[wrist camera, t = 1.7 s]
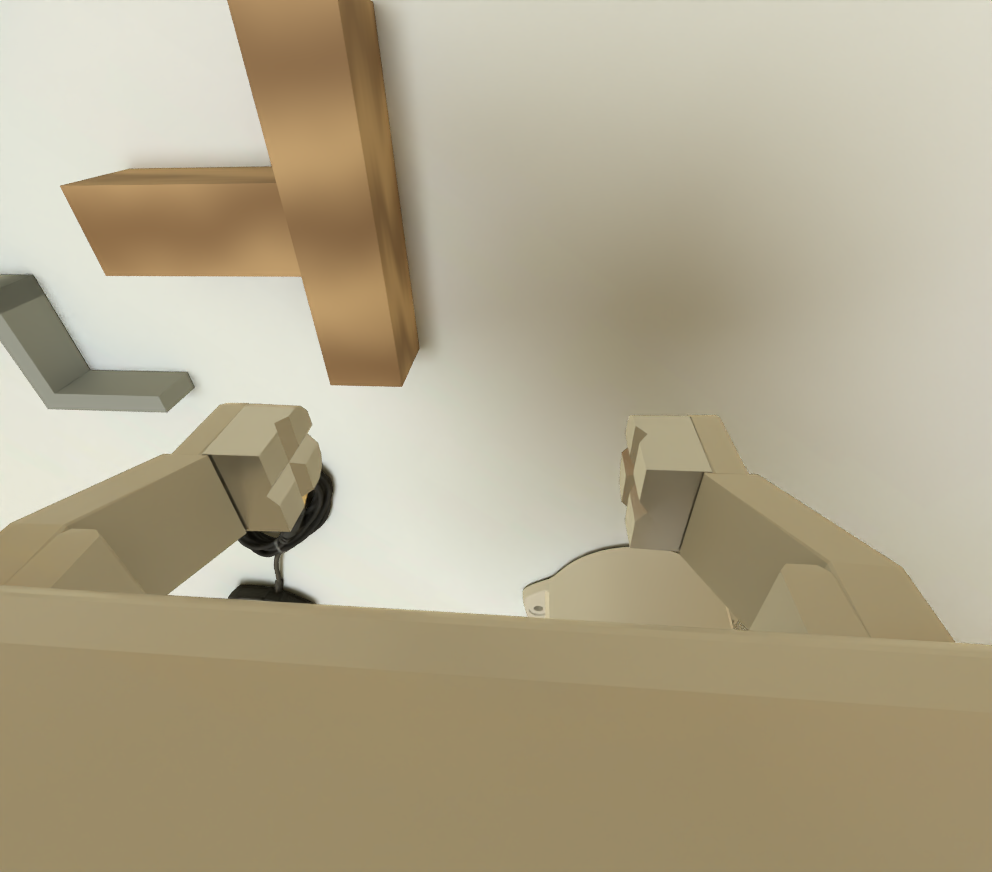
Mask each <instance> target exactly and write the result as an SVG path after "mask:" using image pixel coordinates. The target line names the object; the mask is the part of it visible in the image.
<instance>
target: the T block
mask: <svg viewBox="0 0 992 872" xmlns="http://www.w3.org/2000/svg"><path fill="white" fill-rule="evenodd" d="M227 1H228V5H229V9H230V12H231V16H232V20H233V24H234V27H235V31H236V35H237V39H238V42H239V46H240V50H241V53H242V57H243V61H244V65H245V68H246V72H247V76H248V79H249V83H250V87H251V91H252V94H253V98H254V102H255V105H256V109H257V113H258V117H259V120H260V124H261V128H262V132H263V135H264V139H265V143H266V146H267V150H268V154H269V158H270V161H271V165H272V166H271V167H207V168H144V169H126V170H122V171H118V172H114V173H110V174H106V175H102V176H98V177H94V178H90V179H86V180H82V181H77V182H73V183H69V184H65V185H61V186H60V187H61V189H62V191H63V193H64V195H65V197H66V199H67V201H68V203H69V205H70V207H71V209H72V210H73V212H74V214H75V216H76V218H77V220H78V222H79V224H80V226H81V228H82V230H83V232H84V234H85V236H86V238H87V240H88V242H89V244H90V246H91V248H92V249H93V251H94V253H95V255H96V257H97V259H98V261H99V263H100V265H101V267H102V269H103V271H104V273H105V275H106V276H294V277H302V280H303V284H304V288H305V291H306V295H307V299H308V303H309V306H310V310H311V314H312V317H313V321H314V325H315V329H316V332H317V336H318V340H319V344H320V347H321V351H322V355H323V358H324V362H325V366H326V370H327V373H328V377H329V381H330V384H331V385H348V386H392V387H402V386H403V383H404V381H405V379H406V377H407V375H408V372H409V370H410V368H411V366H412V364H413V361H414V359H415V357H416V355H417V353H418V350H419V342H418V335H417V327H416V320H415V312H414V305H413V297H412V290H411V282H410V275H409V267H408V260H407V252H406V245H405V237H404V230H403V223H402V215H401V208H400V200H399V193H398V185H397V178H396V170H395V163H394V155H393V148H392V140H391V133H390V125H389V118H388V110H387V103H386V95H385V88H384V80H383V73H382V65H381V58H380V50H379V43H378V35H377V28H376V20H375V13H374V5H373V1H370V0H227Z"/></svg>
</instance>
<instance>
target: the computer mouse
mask: <svg viewBox="0 0 992 872" xmlns="http://www.w3.org/2000/svg"><path fill="white" fill-rule="evenodd" d="M313 490H315V494H314V497H313V500H312V502H311V504H310V506H309V507H308V508H307V509H306V499H307V495H308V493H307V494H306V495H304V496H303V497H302V499H303V502H304V505H305V506H304V508H303V510H302V512H301V514H300V515H299V517H298V519H297V521H296V523H295V524H294V526H293V528H292V530H291V532H281V534H280V536H279V537H278V538H274V537H271V536H268V535H266V534H264V533H262V532H261V531H246V534H245V535H243V536H242V537H241V538H240V539H238V541H239V542H240V543H241V544H242V545H243V546H245V547H247V548H249V549H251V550H252V551H253V552H255V553H256V554H258V555H260V556H263V557H272V556H275V558H274V569H275V574H276V579H277V580H276V581H275V587H274V588H273V587H269V586H258V585H240V586H238V587H237V588H236V589H235V590H234V591H233V592H232V593H231V594H230V596H229V597H228V599H240V600H257V601H274V602H290V603H307V604H314V603H312V602H310V601H308V600H306V599H304V598H301V597H299V596H297V595H295V594H293V593H290V592H288V591H283V590H282V583H283V580H282V579H281V576H280V572H279V563H278V562H279V557H280V555H281V554H282V553H285V552H287V551H288V550H290V549H291V548H293V547H295V546H296V545H297V544H299V543H301V542H302V541H303V540H305V539H306V538H307V537H308V536H309V535H311V534H312V533H313V532H315V531H316V530H317V529H319V528H320V527H321V526H322V525H323V524H324V523H325V521H326V519H327V518H328V515H329V512H330V504H331V501H330V500H331V497H332V492H333V487H332V482H331V480H330V479H329V477H328V476H327V475H326V474H325V473H324V472H322V471H321V473H320V478H319V480H318V482H317V484H316V486H315V488H314V489H313Z"/></svg>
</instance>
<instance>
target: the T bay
mask: <svg viewBox="0 0 992 872" xmlns="http://www.w3.org/2000/svg"><path fill="white" fill-rule="evenodd" d="M0 341H1V343H2V344H3V345H4V347H5V348H6V350H7V351H8V353H9V354H10V355H11V357H12V358H13V360H14V361H15V363H16V364H17V365H18V367H19V368H20V370H21V371H22V373H23V374H24V375H25V377H26V378H27V380H28V381H29V383H30V384H31V385H32V387H33V388H34V390H35V391H36V393H37V394H38V395H39V397H40V398H41V400H42V401H43V403H44V404H45V405H46V407H47V408H48V409H64V410H99V411H133V412H168V411H169V410H170V409H171V408H172V407H174V406H175V405H176V404H177V403H178V402H179V401H180V400H181V399H182V398H184V397H185V396H186V395H187V394H188V393H189V392H190V391H191V390H192V389H193V388H194V386H193V384H192V381H191V379H190V377H189V375H188V373H187V372H153V371H106V370H90V369H89V368H88V366H87V364H86V363H85V361H84V359H83V358H82V356H81V354H80V353H79V351H78V349H77V348H76V346H75V344H74V343H73V341H72V339H71V338H70V336H69V334H68V333H67V331H66V329H65V328H64V326H63V324H62V323H61V321H60V319H59V318H58V316H57V314H56V313H55V311H54V309H53V308H52V306H51V304H50V303H49V301H48V299H47V298H46V296H45V295H44V293H43V291H42V290H41V288H40V286H39V285H38V283H37V281H36V280H35V278H34V276H33V275H0Z"/></svg>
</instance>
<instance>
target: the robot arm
mask: <svg viewBox="0 0 992 872" xmlns="http://www.w3.org/2000/svg"><path fill="white" fill-rule="evenodd" d="M311 426H312V422H311V419H310V417H309V414H308V411H307V410H306V409H305V408H303V407H302V406H293V405H272V404H249V403H225V404H221V405H219V406H218V407H217V408H216V409H215V410H214V411H213V412H212V413H211V414H210V415H209V416H208V417H207V418H206V419H205V420H204V421H203V422H202V423H201V424H200V425H199V426H198V427H197V428H196V430H195V431H194V432H193V433H192V434H191V435H190V436H189V437H188V438H187V439H186V440H185V441H184V442H183V443H182V444H181V445H180V446H179V447H178V448H177V449H176V450H175V451H174V452H173V453H172V454H162V455H160V456H157V457H155V458H153V459H151V460H149V461H146V462H144V463H142V464H140V465H138V466H135V467H133V468H131V469H129V470H127V471H124V472H122V473H120V474H118V475H116V476H113V477H111V478H109V479H107V480H104V481H102V482H100V483H98V484H96V485H93V486H91V487H89V488H87V489H85V490H82V491H80V492H78V493H76V494H74V495H71V496H69V497H67V498H65V499H63V500H60V501H58V502H56V503H54V504H52V505H49V506H47V507H45V508H43V509H41V510H38V511H36V512H34V513H32V514H30V515H27V516H25V517H23V518H21V519H19V520H16V521H14V522H12V523H10V524H9V525H8V526H7V527H5V528H4V529H3V530H2V531H1V532H0V872H992V645H985V644H969V643H955V641H954V640H953V638H952V637H951V635H950V634H949V633H948V631H947V630H946V628H945V627H944V626H943V624H942V623H941V621H940V620H939V618H938V617H937V616H936V614H935V613H934V611H933V610H932V609H931V607H930V606H929V604H928V603H927V601H926V600H925V599H924V597H923V596H922V594H921V593H920V592H919V590H918V589H917V587H916V586H915V584H914V583H913V582H912V580H911V579H910V577H909V576H908V575H907V573H906V572H905V570H904V569H903V568H902V567H901V566H899V565H898V564H896V563H895V562H893V561H892V560H890V559H888V558H887V557H885V556H884V555H882V554H881V553H879V552H878V551H876V550H874V549H873V548H871V547H870V546H868V545H867V544H865V543H864V542H862V541H860V540H859V539H857V538H856V537H854V536H853V535H851V534H850V533H848V532H846V531H845V530H843V529H842V528H840V527H839V526H837V525H836V524H834V523H832V522H831V521H829V520H828V519H826V518H825V517H823V516H822V515H820V514H818V513H817V512H815V511H814V510H812V509H811V508H809V507H808V506H806V505H804V504H803V503H801V502H800V501H798V500H797V499H795V498H794V497H792V496H790V495H789V494H787V493H786V492H784V491H783V490H781V489H780V488H778V487H776V486H775V485H773V484H772V483H770V482H769V481H767V480H766V479H764V478H762V477H761V476H759V475H758V474H748V472H747V470H746V468H745V466H744V464H743V462H742V460H741V458H740V456H739V454H738V452H737V450H736V448H735V446H734V444H733V442H732V440H731V438H730V436H729V434H728V432H727V430H726V428H725V426H724V424H723V422H722V420H721V418H720V417H718V416H717V415H687V416H682V415H629V418H628V421H627V426H626V431H625V435H626V441H627V446H628V448H626V449H625V450H624V451H623V452H622V455H621V463H620V476H619V484H620V494H621V501H622V502H623V503H624V504H625V505H626V506H627V510H626V515H625V524H626V530H627V535H628V541H629V546H630V547H621V548H613V549H607V550H603V551H599V552H595V553H592V554H589V555H586V556H584V557H582V558H579V559H577V560H576V561H574V562H572V563H570V564H569V565H567V566H566V567H565V568H563V569H562V570H561V571H560V572H558V573H557V574H556V575H554V576H553V577H551V578H550V579H547V580H544V581H541V582H538V583H535V584H532V585H530V586H528V587H526V588H525V589H524V590H523V603H524V607H525V610H526V613H527V616H528V617H522V616H506V615H489V614H473V613H456V612H440V611H423V610H406V609H390V608H373V607H357V606H340V605H323V604H307V603H290V602H274V601H257V600H240V599H224V598H207V597H191V596H174V595H168V594H169V593H170V592H171V591H173V590H174V589H175V588H177V587H178V586H179V585H180V584H182V583H183V582H184V581H186V580H187V579H188V578H189V577H191V576H192V575H193V574H195V573H196V572H197V571H198V570H200V569H201V568H202V567H204V566H205V565H206V564H207V563H209V562H210V561H211V560H213V559H214V558H215V557H216V556H218V555H219V554H220V553H222V552H223V551H224V550H225V549H227V548H228V547H229V546H231V545H232V544H233V543H234V542H236V541H237V540H238V539H240V538H241V537H242V536H243V535H245V534H246V531H278V532H291V530H292V528H293V526H294V524H295V523H296V521H297V519H298V517H299V515H300V514H301V512H302V510H303V508H304V506H305V505H304V502H303V499H302V497H303V496H304V495H306V494H307V493H309V492H310V491H312V490H313V489H314V488H315V486H316V484H317V482H318V480H319V478H320V473H321V468H322V458H321V451H320V448H319V444H318V442H317V441H315V440H314V439H313V438H312V437H311V436H310V435H309V434H308V432H309V430H310V428H311ZM672 551H677V552H679V554H678V553H675V552H672ZM738 621H740V622H741V623H742V624H743V626H744V627H745V628H746V629H747V630H737V629H734V628H733V627H734V625H735V624H736V623H737V622H738Z"/></svg>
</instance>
